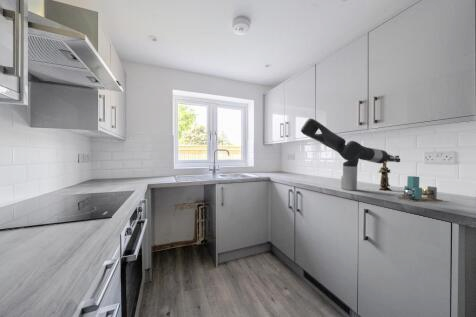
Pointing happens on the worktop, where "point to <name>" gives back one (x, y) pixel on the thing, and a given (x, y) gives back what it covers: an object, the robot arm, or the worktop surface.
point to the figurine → (384, 178)
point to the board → (421, 199)
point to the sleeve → (414, 187)
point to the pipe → (430, 193)
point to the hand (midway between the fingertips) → (398, 160)
